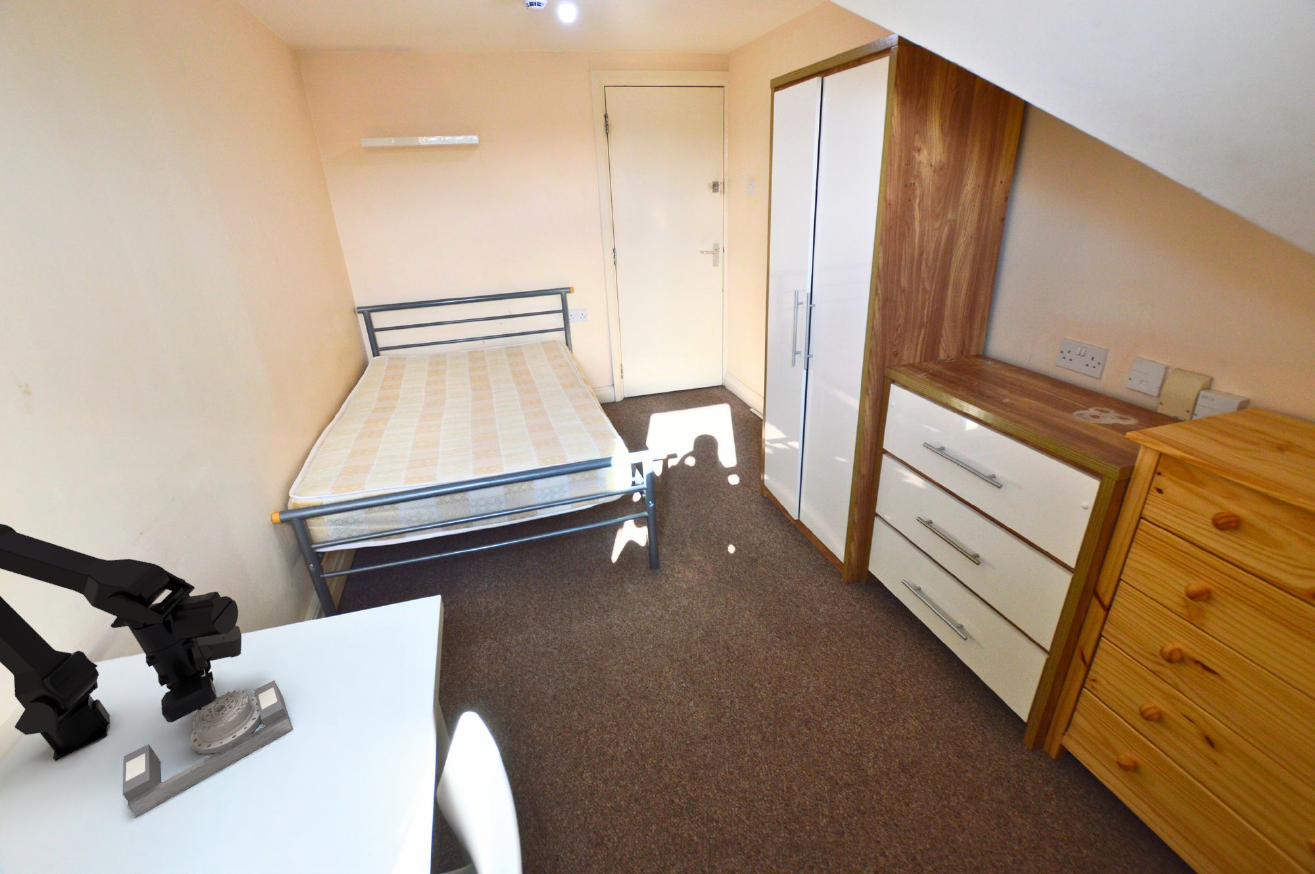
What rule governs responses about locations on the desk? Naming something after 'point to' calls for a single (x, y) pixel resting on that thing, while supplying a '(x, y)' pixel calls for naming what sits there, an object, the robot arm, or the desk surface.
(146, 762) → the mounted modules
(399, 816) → the desk surface
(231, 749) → the metal rail
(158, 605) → the robot arm
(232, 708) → the mechanical component
